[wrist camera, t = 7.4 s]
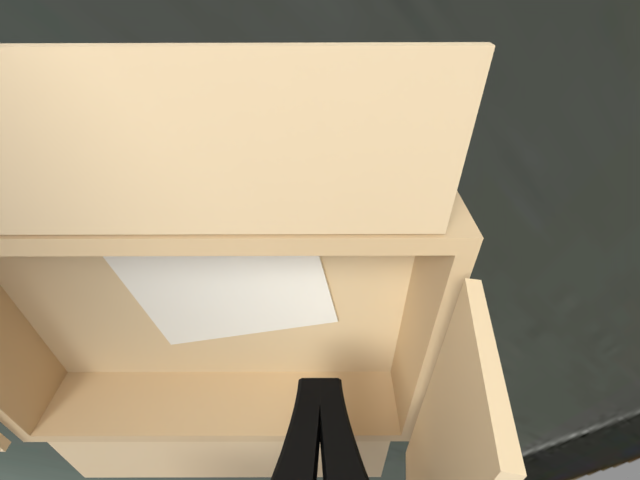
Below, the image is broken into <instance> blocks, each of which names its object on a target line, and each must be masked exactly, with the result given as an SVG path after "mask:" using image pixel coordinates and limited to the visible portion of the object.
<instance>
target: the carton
mask: <svg viewBox="0 0 640 480" xmlns="http://www.w3.org/2000/svg"><path fill="white" fill-rule="evenodd" d="M494 49H495V45H494V44H492V43H490V42H340V43H0V422H1V423H2V424H3V425H5V426H6V427H7V428H8V429H9V430H10V431H11V432H13V433H14V434H15V435H16V436H17V437H18V438H19V439H21V440H22V441H23V442H47V443H49V444H50V445H51V446H52V447H53V448H54V449H55V450H56V451H57V452H58V453H59V454H60V455H61V456H62V457H63V458H64V459H65V460H67V461H68V462H69V463H70V464H71V465H72V466H73V467H74V468H75V469H76V470H77V471H78V472H79V473H80V474H81V475H82V476H83V477H85V478H129V477H272V475H273V472H274V469H275V466H276V464H277V461H278V458H279V456H280V453H281V450H282V447H283V443H284V440H285V437H286V434H287V430H288V427H289V424H290V420H291V416H292V413H293V409H294V404H295V400H296V394H297V389H298V380H299V379H301V378H339V379H341V381H342V389H343V395H344V400H345V404H346V409H347V413H348V416H349V420H350V424H351V427H352V431H353V434H354V437H355V440H356V443H357V446H358V449H359V453H360V456H361V458H362V461H363V464H364V467H365V470H366V472H367V475H368V477H381V475H382V471H383V467H384V463H385V460H386V456H387V452H388V448H389V445H390V441H410V438H411V436H412V433H413V430H414V427H415V424H416V421H417V418H418V415H419V412H420V409H421V406H422V403H423V400H424V397H425V394H426V391H427V388H428V385H429V383H430V380H431V377H432V374H433V371H434V368H435V365H436V362H437V359H438V356H439V353H440V350H441V347H442V344H443V341H444V338H445V335H446V332H447V329H448V327H449V324H450V321H451V318H452V315H453V312H454V309H455V306H456V303H457V300H458V297H459V294H460V291H461V288H462V285H463V282H464V279H465V278H470V276H471V273H472V270H473V267H474V264H475V261H476V258H477V256H478V253H479V250H480V247H481V244H482V241H483V239H484V238H483V236H482V234H481V232H480V231H479V229H478V227H477V225H476V223H475V222H474V220H473V218H472V216H471V214H470V213H469V211H468V209H467V207H466V205H465V204H464V202H463V200H462V198H461V197H460V195H459V193H458V191H457V189H458V185H459V181H460V177H461V173H462V170H463V166H464V162H465V158H466V155H467V151H468V147H469V143H470V140H471V136H472V132H473V128H474V125H475V121H476V117H477V113H478V109H479V106H480V102H481V98H482V94H483V91H484V87H485V83H486V79H487V76H488V72H489V68H490V64H491V61H492V57H493V53H494ZM317 477H323V473H322V460H321V447H319V460H318V473H317Z"/></svg>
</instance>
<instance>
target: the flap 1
mask: <svg viewBox="0 0 640 480" xmlns="http://www.w3.org/2000/svg"><path fill="white" fill-rule="evenodd" d="M10 444H11V441H10V440H8V439H7V438H6V437H5V436H4V435H2V434H1V433H0V452H6V450H7V449H8V447H9V445H10Z"/></svg>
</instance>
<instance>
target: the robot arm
mask: <svg viewBox="0 0 640 480" xmlns="http://www.w3.org/2000/svg"><path fill="white" fill-rule="evenodd" d="M319 447H321V460H322V473H323V480H369V477H368V475H367V472H366V470H365V467H364V464H363V461H362V458H361V456H360V453H359V449H358V446H357V443H356V440H355V437H354V434H353V431H352V427H351V424H350V420H349V416H348V413H347V409H346V404H345V400H344V395H343V389H342V381H341V379H339V378H301V379H299V380H298V389H297V394H296V400H295V404H294V409H293V413H292V416H291V420H290V424H289V427H288V430H287V434H286V437H285V440H284V443H283V447H282V450H281V453H280V456H279V458H278V461H277V464H276V466H275V469H274V472H273V475H272V477H271V480H317V473H318V460H319Z"/></svg>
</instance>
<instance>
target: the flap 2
mask: <svg viewBox="0 0 640 480" xmlns="http://www.w3.org/2000/svg"><path fill="white" fill-rule="evenodd" d="M526 477H527V474H526V470H525V466H524V461H523V457H522V453H521V449H520V444H519V440H518V436H517V431H516V427H515V423H514V418H513V414H512V410H511V406H510V401H509V397H508V393H507V388H506V384H505V380H504V375H503V371H502V367H501V363H500V358H499V354H498V350H497V345H496V341H495V337H494V332H493V328H492V324H491V320H490V315H489V311H488V307H487V302H486V298H485V294H484V289H483V285H482V281H481V280H477V279H469V278H465V279H464V282H463V285H462V288H461V291H460V294H459V297H458V300H457V303H456V306H455V309H454V312H453V315H452V318H451V321H450V324H449V327H448V329H447V332H446V335H445V338H444V341H443V344H442V347H441V350H440V353H439V356H438V359H437V362H436V365H435V368H434V371H433V374H432V377H431V380H430V383H429V385H428V388H427V391H426V394H425V397H424V400H423V403H422V406H421V409H420V412H419V415H418V418H417V421H416V424H415V427H414V430H413V433H412V436H411V438H410V441H409V444H408V447H407V450H406V480H524V479H525V478H526Z"/></svg>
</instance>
